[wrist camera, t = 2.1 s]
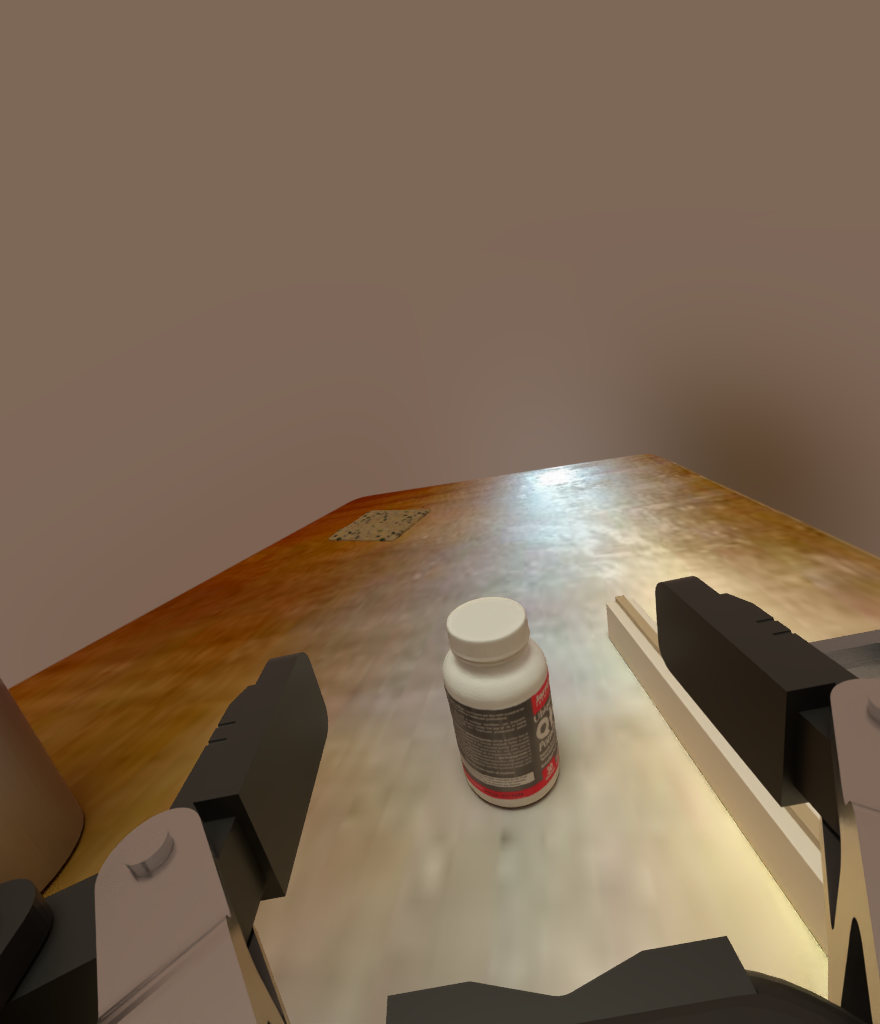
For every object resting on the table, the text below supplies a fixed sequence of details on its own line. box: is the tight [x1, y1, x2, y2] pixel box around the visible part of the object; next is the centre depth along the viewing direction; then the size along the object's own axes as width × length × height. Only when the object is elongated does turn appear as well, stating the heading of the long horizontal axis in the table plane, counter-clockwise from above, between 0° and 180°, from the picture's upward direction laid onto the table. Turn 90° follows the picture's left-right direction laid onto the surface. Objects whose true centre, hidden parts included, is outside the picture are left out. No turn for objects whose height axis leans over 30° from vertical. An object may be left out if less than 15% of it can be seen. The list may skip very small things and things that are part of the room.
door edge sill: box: [606, 595, 828, 956], centre depth 24 cm, size 20×2×3 cm, turn 3°
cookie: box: [329, 509, 431, 541], centre depth 69 cm, size 12×12×1 cm
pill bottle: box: [442, 597, 560, 807], centre depth 23 cm, size 5×5×10 cm
